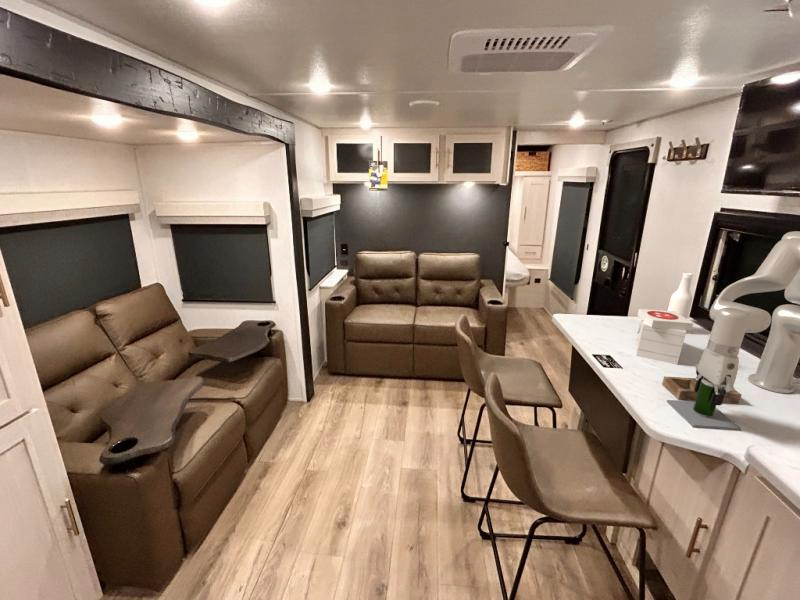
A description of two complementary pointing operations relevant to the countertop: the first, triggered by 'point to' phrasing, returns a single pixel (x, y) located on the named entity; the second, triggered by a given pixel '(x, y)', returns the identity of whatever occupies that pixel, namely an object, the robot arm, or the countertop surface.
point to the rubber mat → (695, 420)
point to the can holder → (692, 389)
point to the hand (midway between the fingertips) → (707, 397)
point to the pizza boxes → (661, 335)
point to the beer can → (705, 399)
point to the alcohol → (682, 297)
